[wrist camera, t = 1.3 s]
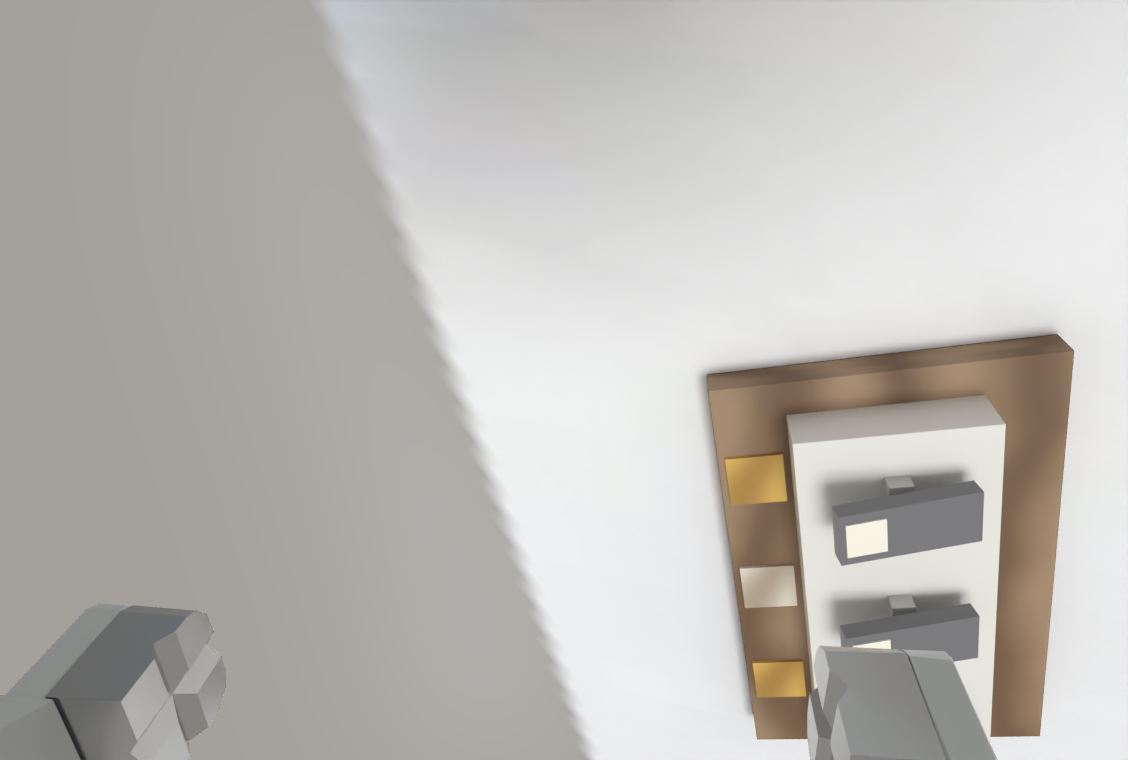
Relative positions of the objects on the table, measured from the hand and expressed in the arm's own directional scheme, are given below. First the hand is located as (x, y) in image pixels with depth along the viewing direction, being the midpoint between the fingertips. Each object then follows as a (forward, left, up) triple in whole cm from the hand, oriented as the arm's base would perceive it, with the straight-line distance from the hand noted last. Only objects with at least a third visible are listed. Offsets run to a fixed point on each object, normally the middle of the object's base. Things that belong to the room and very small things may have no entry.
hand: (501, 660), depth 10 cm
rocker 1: (-11, +19, -26) cm, 34 cm away
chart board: (-11, +27, -33) cm, 44 cm away
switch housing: (-11, +27, -31) cm, 42 cm away
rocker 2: (-11, +27, -26) cm, 39 cm away
